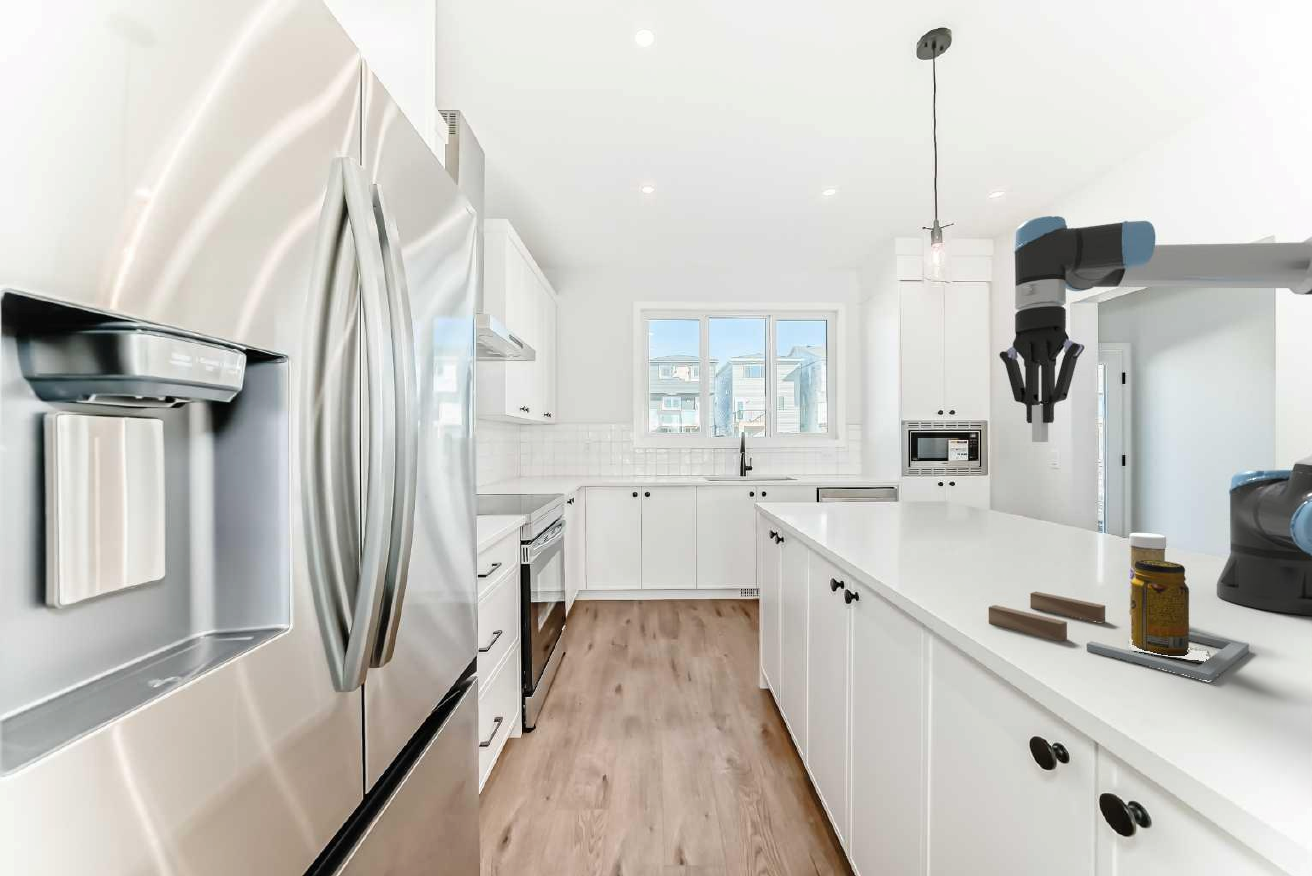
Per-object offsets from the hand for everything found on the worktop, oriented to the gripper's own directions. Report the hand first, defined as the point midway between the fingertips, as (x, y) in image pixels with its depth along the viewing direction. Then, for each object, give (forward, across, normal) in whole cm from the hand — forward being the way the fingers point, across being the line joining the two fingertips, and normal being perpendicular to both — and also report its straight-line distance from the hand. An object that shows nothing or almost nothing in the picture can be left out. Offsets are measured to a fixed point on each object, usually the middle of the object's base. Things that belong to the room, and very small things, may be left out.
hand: (1040, 441), depth 103 cm
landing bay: (+28, +20, -12) cm, 37 cm away
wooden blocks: (+28, +6, -12) cm, 31 cm away
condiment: (+29, +21, -12) cm, 37 cm away
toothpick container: (+29, +14, +4) cm, 32 cm away
